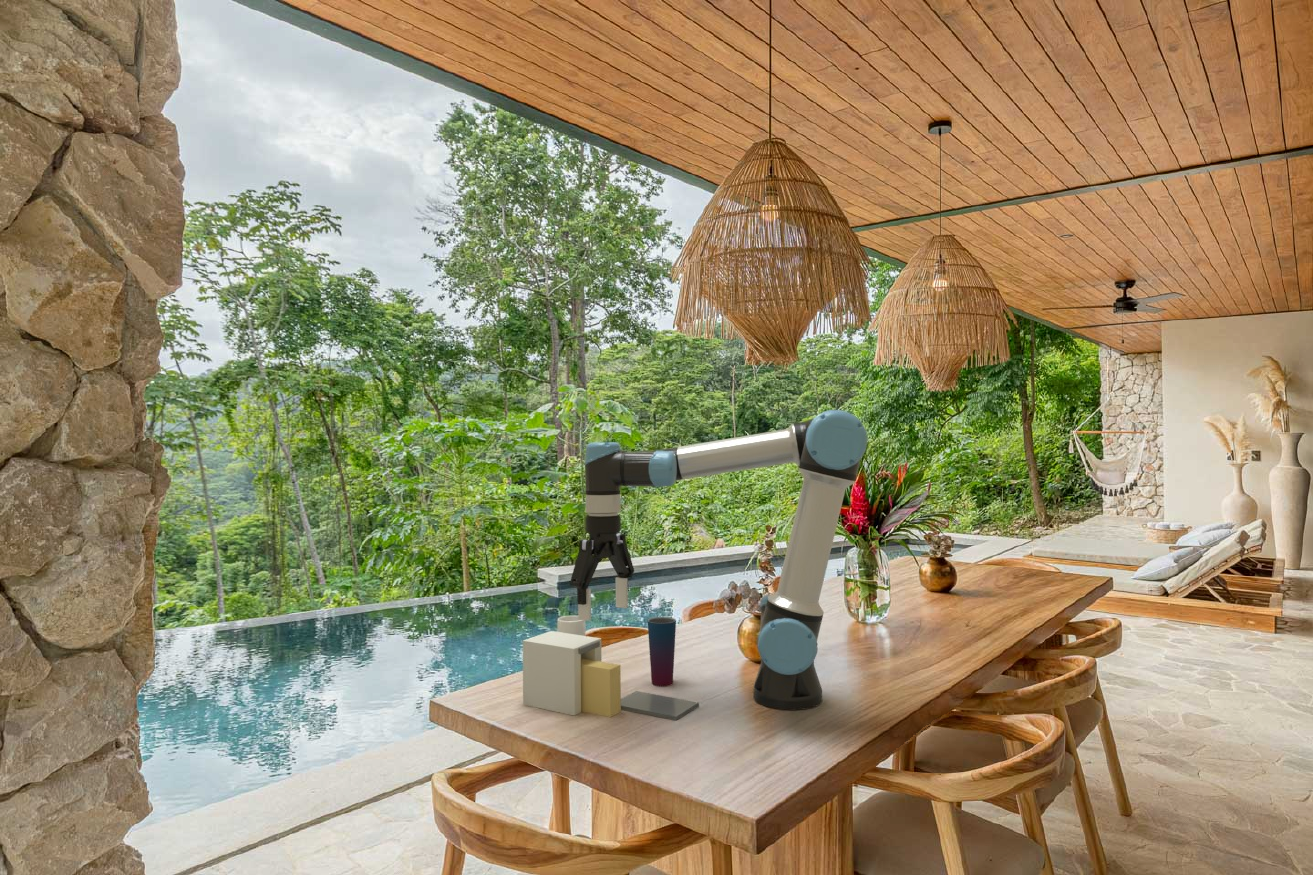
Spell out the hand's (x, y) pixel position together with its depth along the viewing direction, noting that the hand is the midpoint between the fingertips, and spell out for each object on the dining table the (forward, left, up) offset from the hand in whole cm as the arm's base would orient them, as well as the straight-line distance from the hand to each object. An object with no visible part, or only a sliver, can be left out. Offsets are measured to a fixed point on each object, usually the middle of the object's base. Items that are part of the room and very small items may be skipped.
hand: (603, 613), depth 167 cm
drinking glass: (+19, -13, -21) cm, 31 cm away
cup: (-1, -22, -21) cm, 31 cm away
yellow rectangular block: (+4, +1, -21) cm, 21 cm away
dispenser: (+11, +1, -21) cm, 23 cm away
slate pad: (-8, -7, -21) cm, 24 cm away
